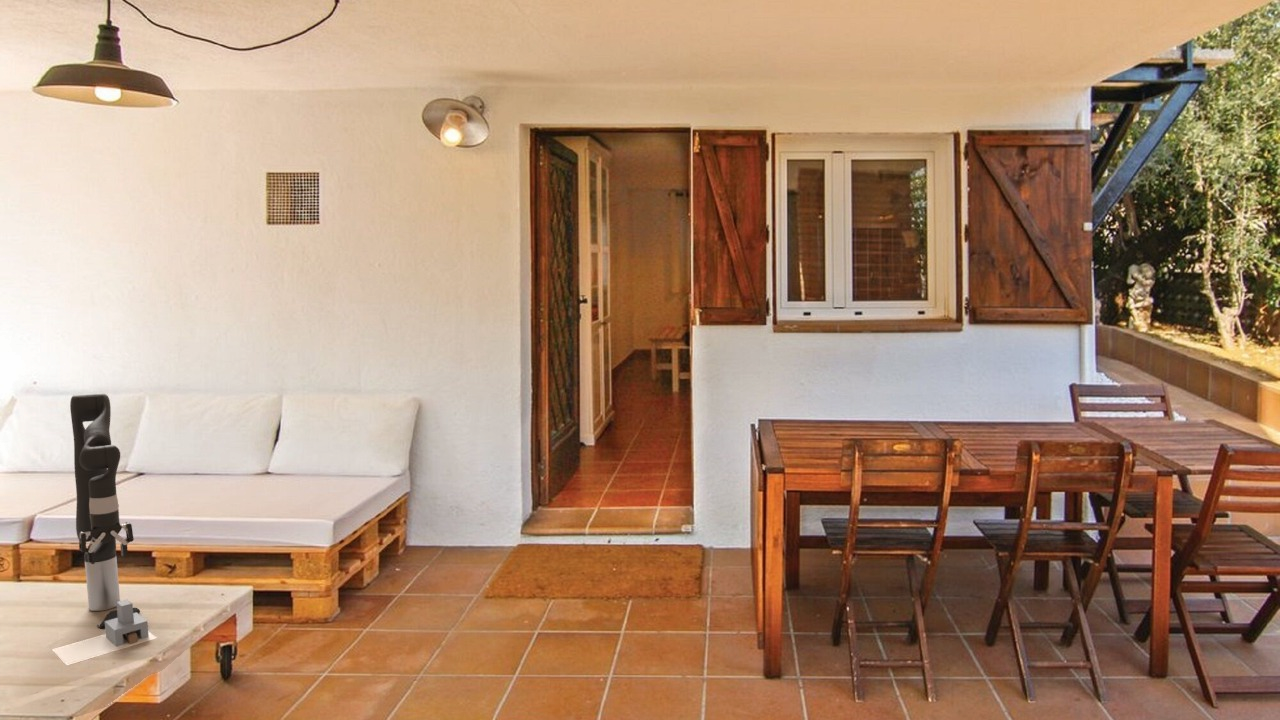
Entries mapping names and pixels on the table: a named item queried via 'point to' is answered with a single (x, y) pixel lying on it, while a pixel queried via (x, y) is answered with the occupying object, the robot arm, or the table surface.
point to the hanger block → (125, 623)
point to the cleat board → (96, 647)
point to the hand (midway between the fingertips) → (108, 559)
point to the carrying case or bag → (113, 617)
